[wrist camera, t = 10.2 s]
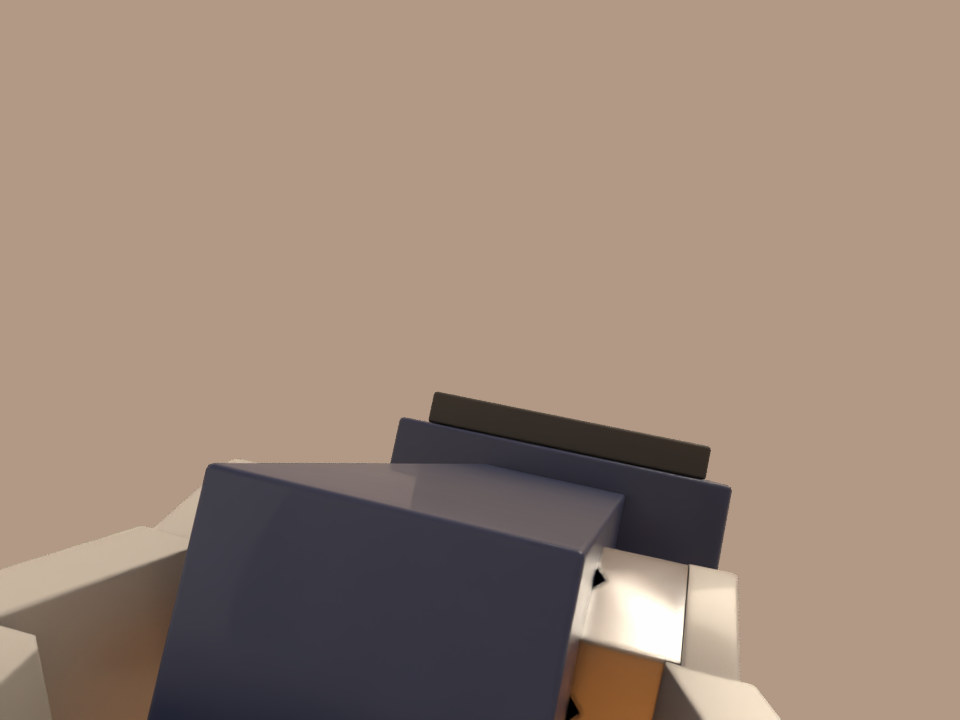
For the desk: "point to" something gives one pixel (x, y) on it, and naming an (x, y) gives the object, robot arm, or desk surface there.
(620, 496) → the brush
